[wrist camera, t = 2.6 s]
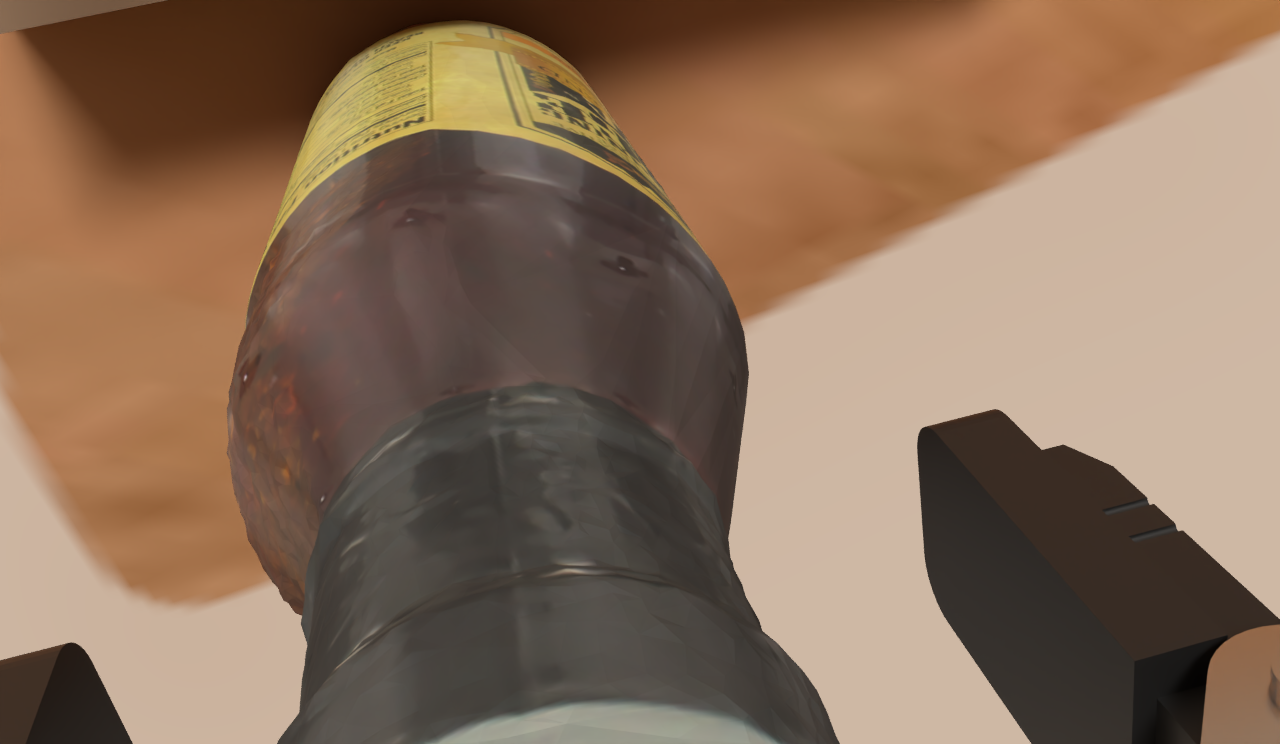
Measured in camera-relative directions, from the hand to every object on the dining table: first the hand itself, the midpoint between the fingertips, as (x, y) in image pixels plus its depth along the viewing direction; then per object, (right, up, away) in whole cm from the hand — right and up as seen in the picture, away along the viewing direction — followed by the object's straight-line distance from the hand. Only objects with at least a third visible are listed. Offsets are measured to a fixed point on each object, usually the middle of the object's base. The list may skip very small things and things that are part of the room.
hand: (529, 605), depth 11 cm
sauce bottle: (-3, +7, +14) cm, 16 cm away
